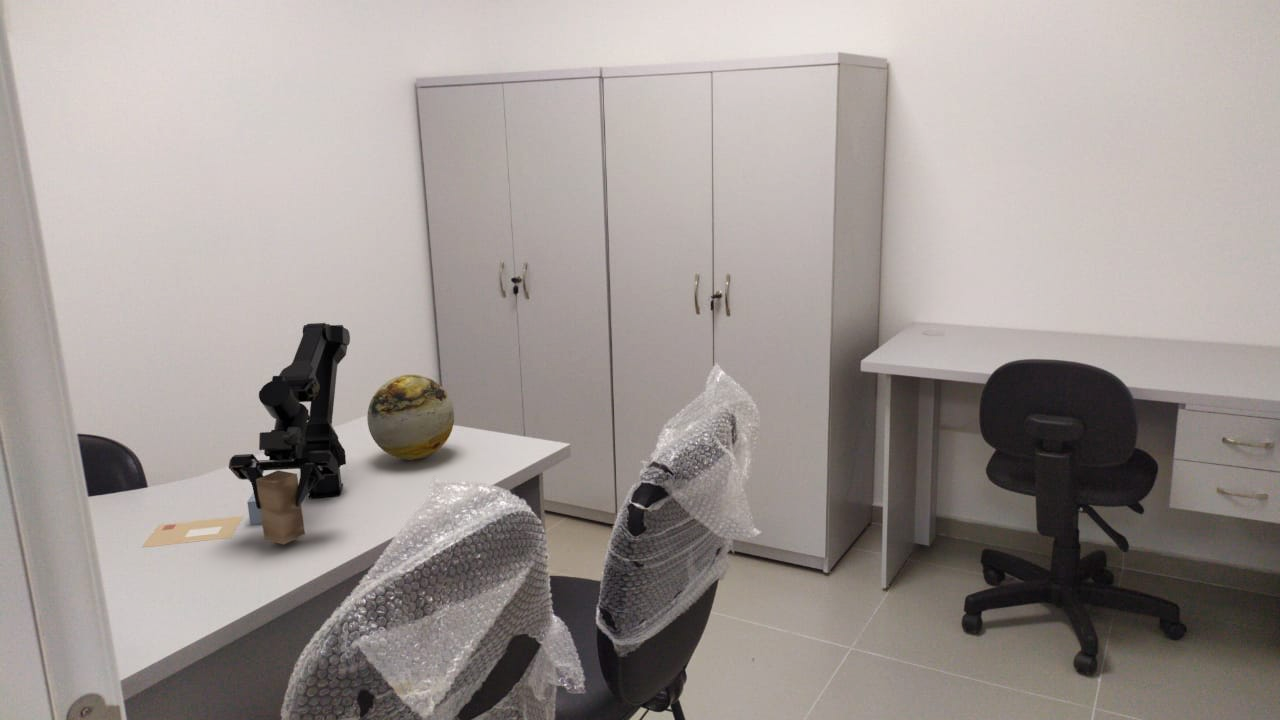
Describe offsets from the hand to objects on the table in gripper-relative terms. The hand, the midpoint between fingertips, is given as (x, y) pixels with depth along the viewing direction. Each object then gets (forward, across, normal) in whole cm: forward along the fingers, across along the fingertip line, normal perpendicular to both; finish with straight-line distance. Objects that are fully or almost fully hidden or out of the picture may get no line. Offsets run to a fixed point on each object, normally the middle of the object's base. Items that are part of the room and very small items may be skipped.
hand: (277, 507), depth 169 cm
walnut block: (+4, 0, +6) cm, 7 cm away
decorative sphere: (-28, +15, +40) cm, 51 cm away
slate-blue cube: (-4, -8, +16) cm, 18 cm away
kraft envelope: (-1, -21, +12) cm, 24 cm away
